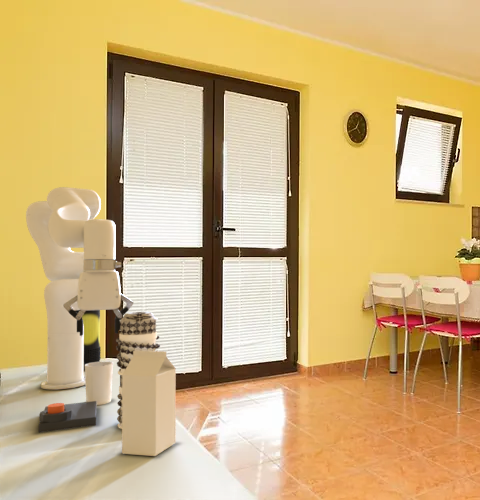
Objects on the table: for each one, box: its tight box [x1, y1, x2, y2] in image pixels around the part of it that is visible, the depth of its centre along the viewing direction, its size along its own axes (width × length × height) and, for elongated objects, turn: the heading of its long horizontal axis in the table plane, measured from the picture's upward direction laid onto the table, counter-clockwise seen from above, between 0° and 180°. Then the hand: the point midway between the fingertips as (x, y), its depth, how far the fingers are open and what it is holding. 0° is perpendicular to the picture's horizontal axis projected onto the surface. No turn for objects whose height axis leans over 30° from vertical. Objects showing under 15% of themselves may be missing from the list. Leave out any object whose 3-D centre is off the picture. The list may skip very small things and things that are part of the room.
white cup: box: [84, 360, 114, 406], centre depth 134 cm, size 7×7×10 cm
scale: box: [38, 401, 97, 433], centre depth 119 cm, size 15×11×4 cm
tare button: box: [47, 402, 65, 414], centre depth 114 cm, size 3×3×2 cm
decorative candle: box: [115, 311, 161, 430], centre depth 116 cm, size 9×9×25 cm
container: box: [76, 310, 102, 372], centre depth 178 cm, size 11×11×30 cm
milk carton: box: [121, 350, 177, 457], centre depth 100 cm, size 7×7×19 cm
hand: (99, 333), depth 134 cm, fingers open, 7 cm apart
